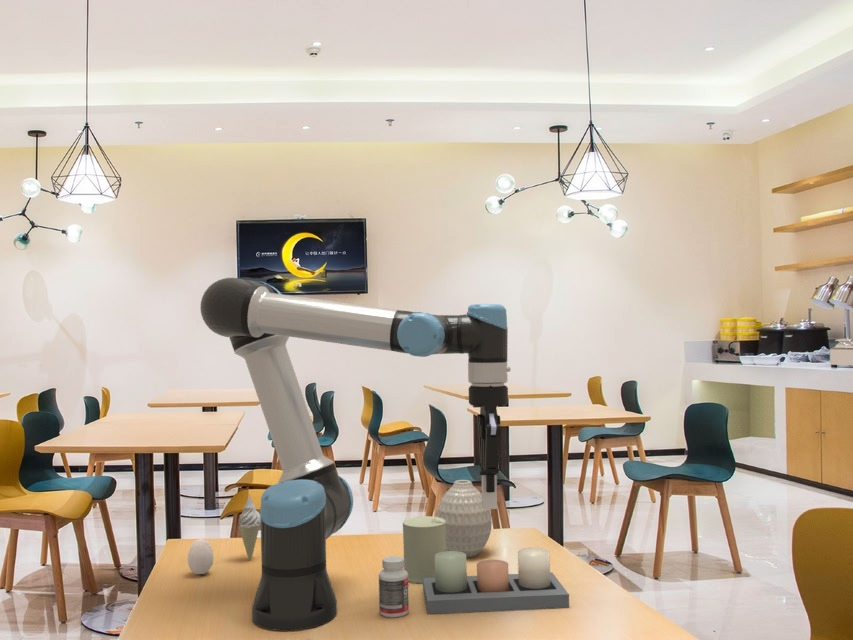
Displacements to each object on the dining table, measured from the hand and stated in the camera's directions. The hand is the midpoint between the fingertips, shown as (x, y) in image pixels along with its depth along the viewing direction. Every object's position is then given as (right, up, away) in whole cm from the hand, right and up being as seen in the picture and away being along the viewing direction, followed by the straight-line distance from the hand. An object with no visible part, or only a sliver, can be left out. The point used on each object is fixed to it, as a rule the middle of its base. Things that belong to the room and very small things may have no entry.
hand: (489, 508), depth 144 cm
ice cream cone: (-52, -19, +28) cm, 62 cm away
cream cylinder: (+9, -15, 0) cm, 17 cm away
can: (-12, -18, +14) cm, 26 cm away
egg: (-61, -19, +18) cm, 66 cm away
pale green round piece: (-7, -15, -1) cm, 17 cm away
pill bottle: (-18, -18, -7) cm, 26 cm away
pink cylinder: (+1, -17, 0) cm, 17 cm away
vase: (-3, -18, +29) cm, 35 cm away
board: (+1, -17, 0) cm, 17 cm away
